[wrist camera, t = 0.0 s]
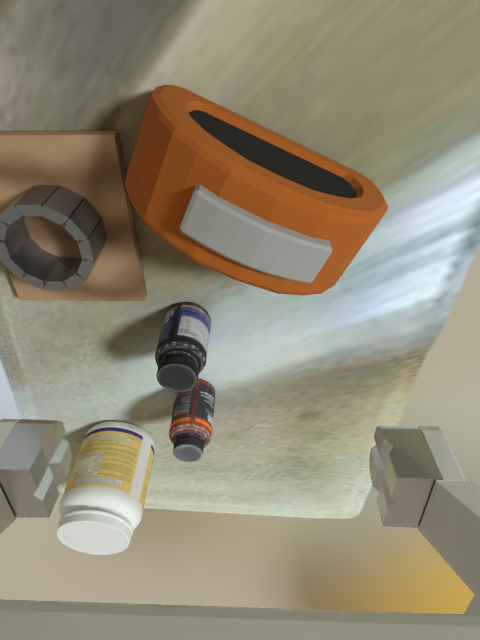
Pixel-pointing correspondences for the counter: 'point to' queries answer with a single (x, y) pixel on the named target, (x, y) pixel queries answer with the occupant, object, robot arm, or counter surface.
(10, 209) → the rosette collar
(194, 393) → the supplement bottle
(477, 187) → the counter surface
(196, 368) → the pill bottle
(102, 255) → the collar base board
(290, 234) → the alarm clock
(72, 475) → the supplement tub
